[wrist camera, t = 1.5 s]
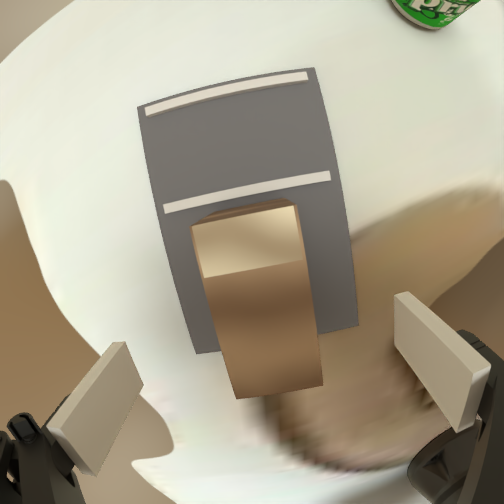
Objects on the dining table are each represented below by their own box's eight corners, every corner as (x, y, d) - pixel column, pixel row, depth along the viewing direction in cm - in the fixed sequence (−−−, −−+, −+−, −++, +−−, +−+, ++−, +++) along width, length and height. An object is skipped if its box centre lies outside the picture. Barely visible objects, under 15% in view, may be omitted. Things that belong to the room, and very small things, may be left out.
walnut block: (306, 327, 27) (323, 387, 18) (243, 338, 28) (235, 401, 19) (284, 197, 25) (297, 205, 16) (214, 211, 25) (188, 226, 16)
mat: (357, 323, 28) (360, 329, 26) (196, 351, 29) (194, 358, 28) (313, 69, 23) (315, 64, 22) (138, 108, 24) (133, 105, 23)
